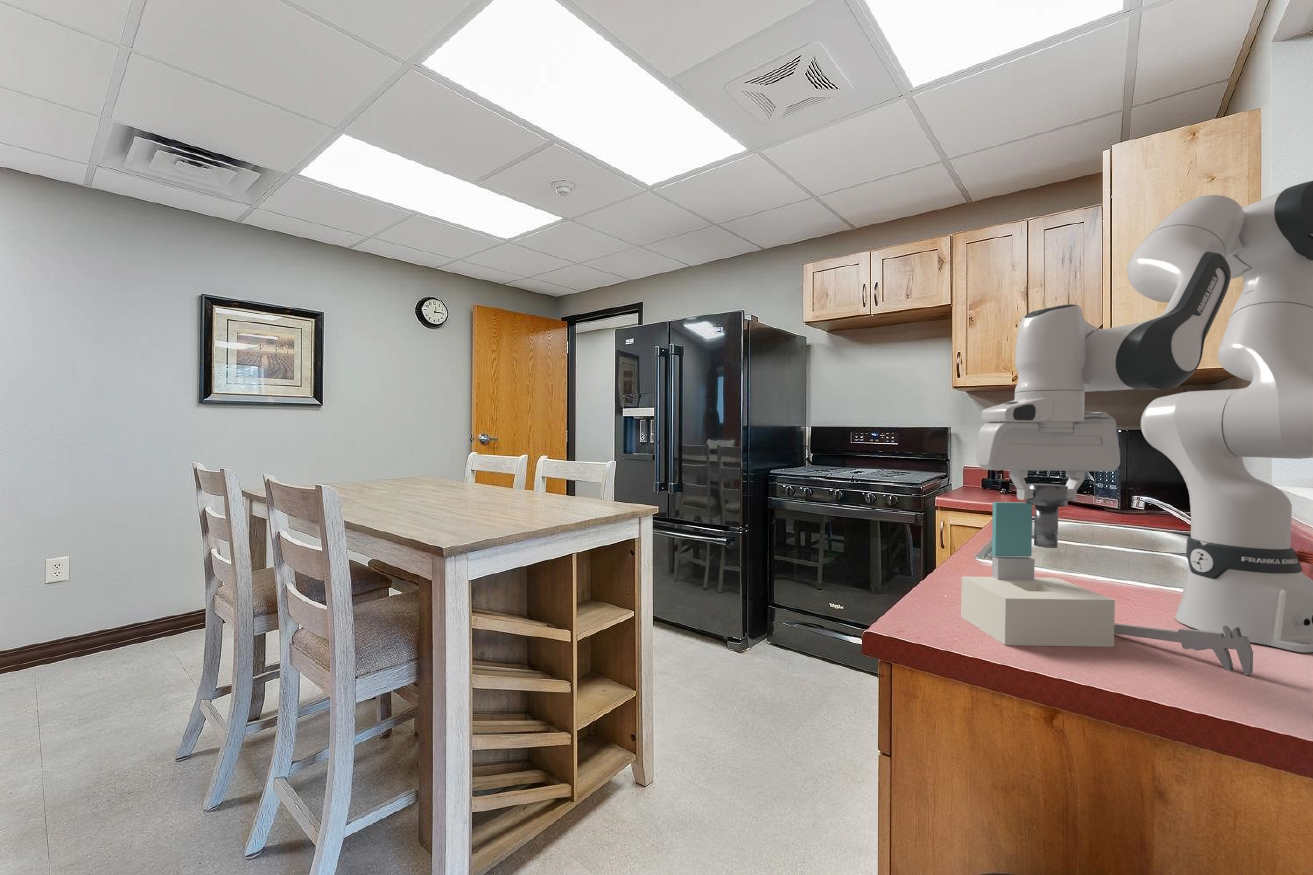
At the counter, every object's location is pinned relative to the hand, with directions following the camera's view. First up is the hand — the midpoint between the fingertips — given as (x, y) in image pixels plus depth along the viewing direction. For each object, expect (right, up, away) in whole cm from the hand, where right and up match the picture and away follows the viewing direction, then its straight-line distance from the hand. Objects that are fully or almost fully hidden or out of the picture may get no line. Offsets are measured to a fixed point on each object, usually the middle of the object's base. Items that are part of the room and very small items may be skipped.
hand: (1046, 500), depth 84 cm
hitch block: (-1, -21, +2) cm, 21 cm away
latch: (0, -6, +7) cm, 9 cm away
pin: (0, -7, 0) cm, 7 cm away
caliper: (+13, -22, -4) cm, 26 cm away
